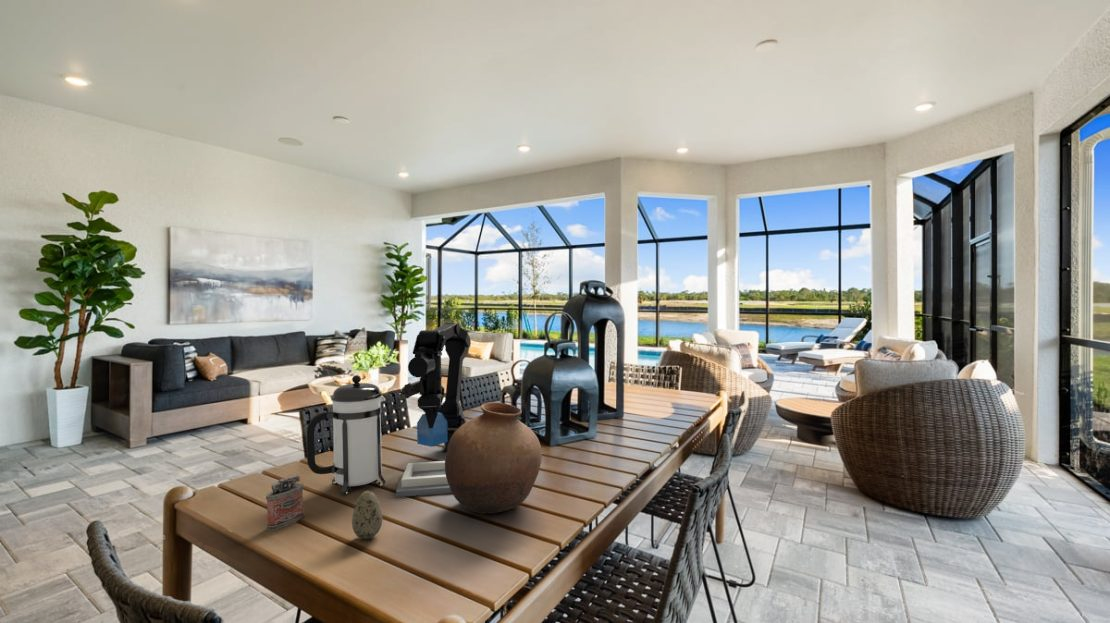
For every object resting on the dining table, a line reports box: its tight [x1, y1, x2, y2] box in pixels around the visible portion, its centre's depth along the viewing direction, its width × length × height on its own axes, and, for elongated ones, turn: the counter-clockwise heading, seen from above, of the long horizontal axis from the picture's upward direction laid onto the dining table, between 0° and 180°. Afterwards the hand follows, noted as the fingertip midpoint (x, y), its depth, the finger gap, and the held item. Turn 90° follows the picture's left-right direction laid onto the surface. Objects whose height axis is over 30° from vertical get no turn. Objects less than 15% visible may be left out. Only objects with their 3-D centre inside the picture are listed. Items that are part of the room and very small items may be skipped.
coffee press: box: [305, 374, 386, 495], centre depth 131 cm, size 17×16×30 cm
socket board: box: [395, 460, 452, 498], centre depth 133 cm, size 18×15×4 cm
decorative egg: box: [351, 490, 383, 540], centre depth 102 cm, size 6×6×10 cm
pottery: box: [444, 401, 543, 514], centre depth 116 cm, size 23×23×25 cm
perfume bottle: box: [416, 412, 448, 448], centre depth 144 cm, size 6×6×12 cm
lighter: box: [265, 474, 305, 531], centre depth 109 cm, size 8×3×10 cm, turn 148°
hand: (432, 424), depth 144 cm, fingers closed on perfume bottle, 9 cm apart
